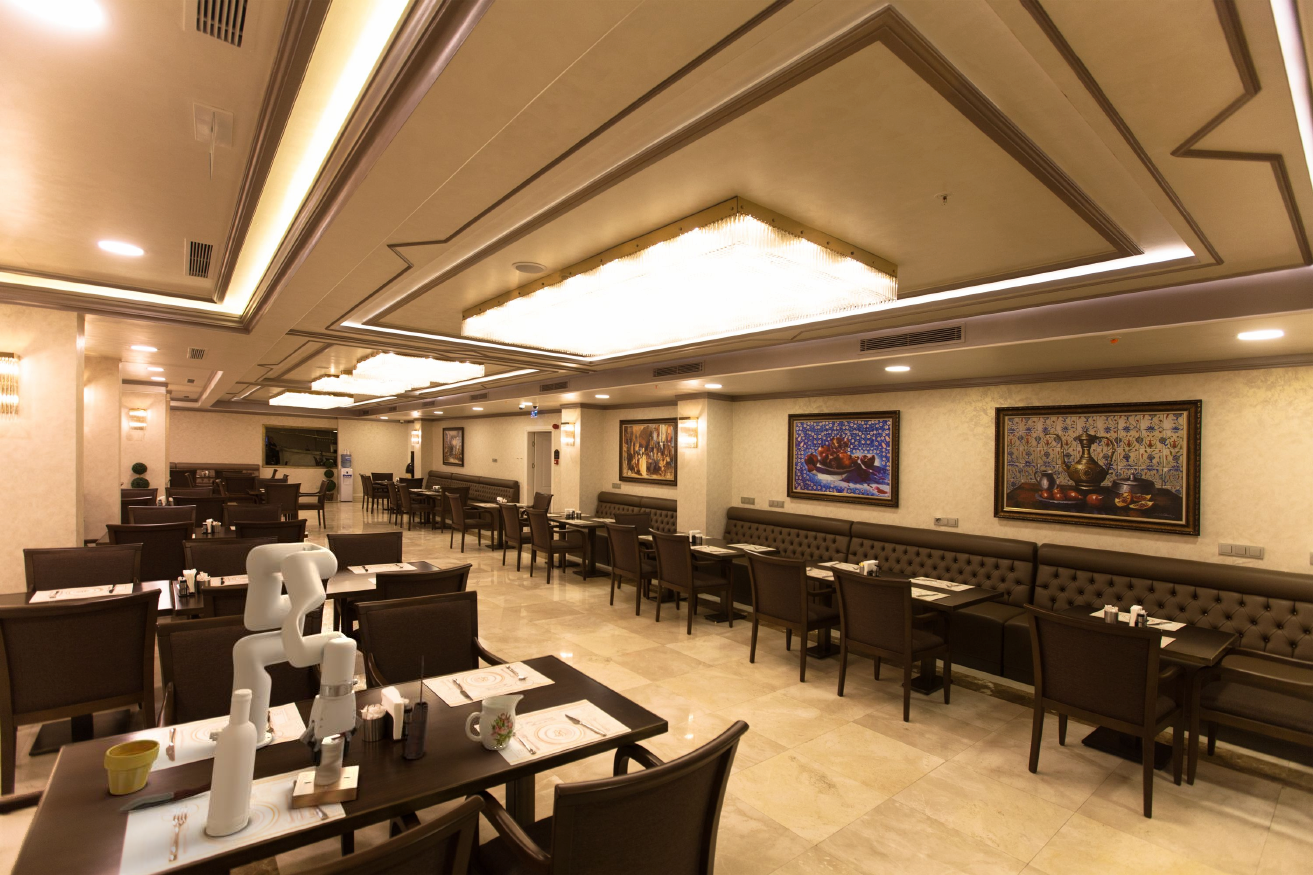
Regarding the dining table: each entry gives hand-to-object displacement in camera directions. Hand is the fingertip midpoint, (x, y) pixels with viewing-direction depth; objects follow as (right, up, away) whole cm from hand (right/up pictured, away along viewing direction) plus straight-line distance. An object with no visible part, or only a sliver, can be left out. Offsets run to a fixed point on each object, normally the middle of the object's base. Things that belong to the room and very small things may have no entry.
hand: (329, 759), depth 153 cm
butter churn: (+14, -11, +21) cm, 27 cm away
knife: (-33, -5, -10) cm, 35 cm away
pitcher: (+34, -13, +31) cm, 47 cm away
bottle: (-14, -6, -17) cm, 23 cm away
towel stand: (0, -8, -1) cm, 8 cm away
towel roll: (0, -5, 0) cm, 5 cm away
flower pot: (-48, -5, -4) cm, 48 cm away
